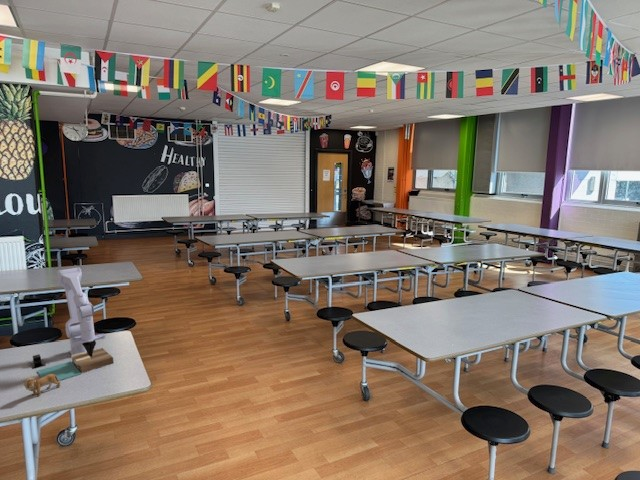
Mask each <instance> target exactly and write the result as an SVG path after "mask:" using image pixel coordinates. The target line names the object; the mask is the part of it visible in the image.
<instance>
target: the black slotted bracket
mask: <svg viewBox="0 0 640 480" xmlns="http://www.w3.org/2000/svg"><path fill="white" fill-rule="evenodd" d="M41 358H42V357H41V355H40V354H35V355H32V361H31V362H29V364H30V367H31V369H32V370H34V369H38V368H42V367H46V366H47V365H46V362H45V361H44V359H43V358H42V359H41Z"/></svg>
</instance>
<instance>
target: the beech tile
mask: <svg viewBox="0 0 640 480" xmlns="http://www.w3.org/2000/svg"><path fill="white" fill-rule="evenodd" d="M70 355H71V361H72V360H73V361H74V362H75V364H76V365H80V364H83V363H87V362H90V361H91V357H90V356H89V355H88V354H87V353H86V352H82V353H78V354H75V355H72V354H70Z"/></svg>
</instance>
